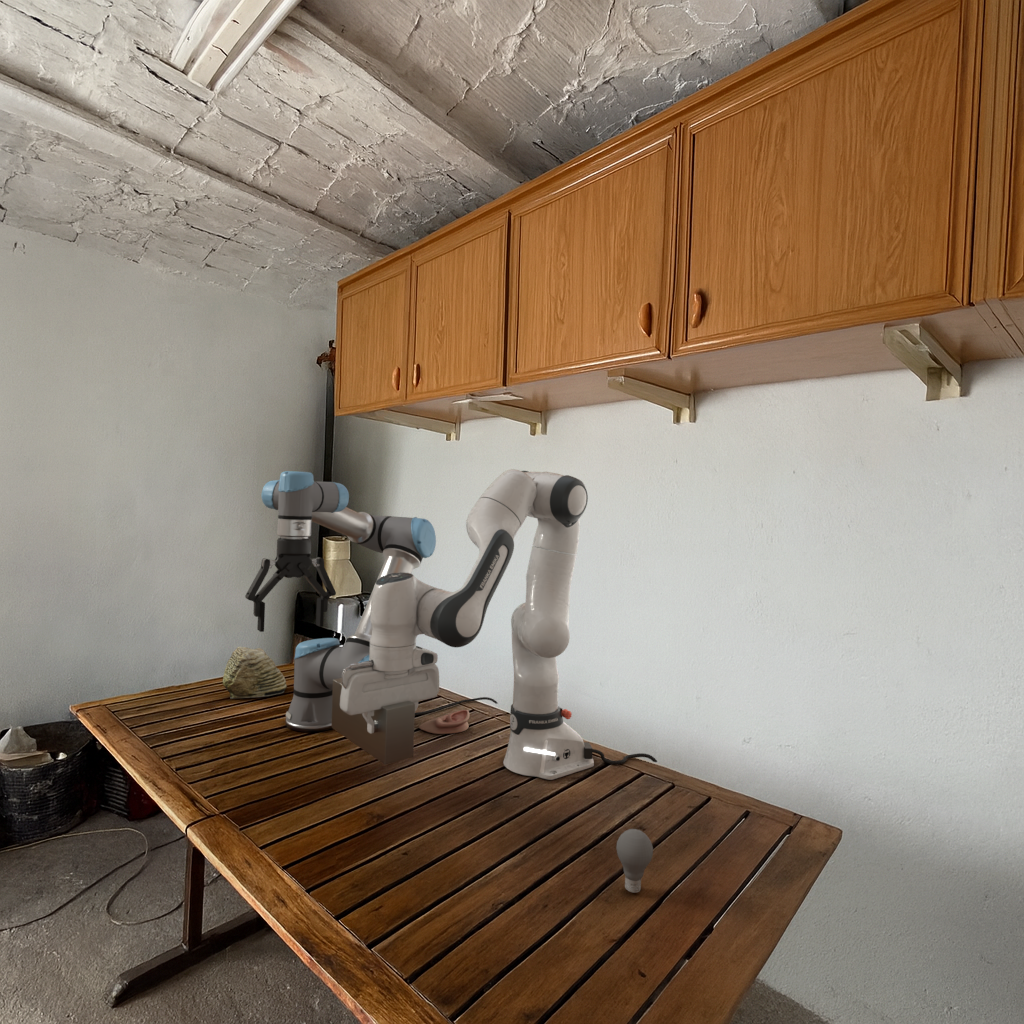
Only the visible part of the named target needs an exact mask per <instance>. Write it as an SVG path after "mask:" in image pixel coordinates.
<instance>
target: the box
mask: <svg viewBox="0 0 1024 1024" xmlns="http://www.w3.org/2000/svg"><path fill="white" fill-rule="evenodd" d="M341 689H342V678H340V679H334V680H333V693H332V725H331V727H332V728H333V730H334V731H336V732H337V733H338V734H340V735H341V736H343V737H344V738H346V739H347V740H348V741H350V742H351V743H353V744H354V745H356V746H357V747H359V748H360V749H362V750H363V751H364V752H366V753H367V754H369V755H370V756H372V757H373V758H375V759H376V760H377V761H379V762H380V763H381V764H383V765H384V766H385V765H389V764H393V763H397V762H400V761H404V760H407V759H410V758H414V746H415V745H414V744H415V719H416V717H415V716H416V715H415V713H416V711H415V703H413V702H411V701H406V702H401V703H397V704H392V705H387V706H382V707H381V709H379V710H374V716H371V718H372V719H373V721H375V722H377V723H378V732H375V733H372V734H370V733H369V732H368V731H367V722H366V720H365V718H364V717H363V715H362V713H361V714H356V715H348V714H346V713H345V712H344V711H342V709H341V708H340V696H341Z"/></svg>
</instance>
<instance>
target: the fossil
mask: <svg viewBox="0 0 1024 1024" xmlns="http://www.w3.org/2000/svg"><path fill="white" fill-rule="evenodd" d="M222 676H223V677H222V685H223V687H224V688H225V690H226V691H228V693H229V698H230V699H250V698H264V697H271V696H275V695H281V694H284V693H285V691H286V689H287V687H288V686H287V680H286V678H285V676H284V674H283V673H282V672H281V669H279V668H278V667H277V665H276V663H275V662H274V660H273V659H272V658H271V657H270V656H269V655H268V654H267V653H266V652H265V650H264V649H263V648H260V647H258V648H251V647H247V646H246V647H245V646H238V647H237V648H236V649H235V650H233V651H232V653H231V656H230V657H229V659H228V660H227V663H226V666H225V668H224V671H223V675H222Z"/></svg>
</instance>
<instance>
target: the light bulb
mask: <svg viewBox="0 0 1024 1024" xmlns="http://www.w3.org/2000/svg"><path fill="white" fill-rule="evenodd" d="M615 849H616V854H617V857H618V859H619V861H620V863H621V865H622V867H623V873H624V874H623V875H624V876H625V878H624V888H625V890H627V891H628V892H630V893H634V894H635V893H639V892H640V891H641V889H642V887H641V886H642V879H643V877H644V875H645V871H646V868H647V867H648V866H649V864H650V863H651V861H652V859H653V855H654V847H653V843H652V841H651V838H649V836H648V835H647V834H646V833H645V832H643V831H642V830H641V829H636V828H629V829H627V830H625V831H623V832H622V833H621V834H620V835H619V837H618V839H617V841H616V847H615Z"/></svg>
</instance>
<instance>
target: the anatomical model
mask: <svg viewBox="0 0 1024 1024" xmlns="http://www.w3.org/2000/svg"><path fill="white" fill-rule="evenodd" d="M470 715H471V714H470V711H469V710H468V709H461V710H457V711H454V712H450V713H447V714H445V715H442V716H439V717H437V718H436V717H435V718H432V719H429V720H427V721H424V722H422V723H421V724H420V725H419V726H418V728H419V730H421V731H423V732H427V733H430V734H434V735H445V734H447V735H448V734H455V733H456V734H457V733H462V732H465V731H467V730H468V729H469V726H470V724H469V722H468V721H469V720H470V717H471V716H470Z"/></svg>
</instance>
